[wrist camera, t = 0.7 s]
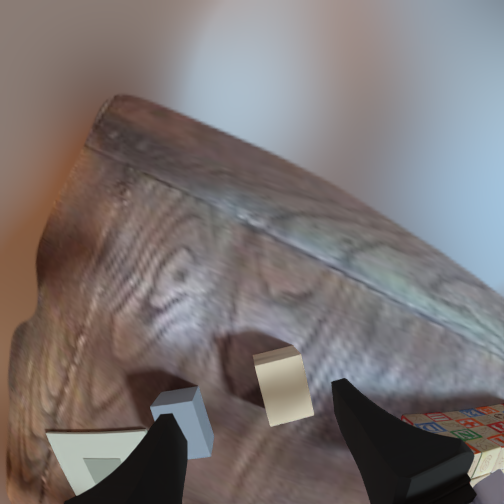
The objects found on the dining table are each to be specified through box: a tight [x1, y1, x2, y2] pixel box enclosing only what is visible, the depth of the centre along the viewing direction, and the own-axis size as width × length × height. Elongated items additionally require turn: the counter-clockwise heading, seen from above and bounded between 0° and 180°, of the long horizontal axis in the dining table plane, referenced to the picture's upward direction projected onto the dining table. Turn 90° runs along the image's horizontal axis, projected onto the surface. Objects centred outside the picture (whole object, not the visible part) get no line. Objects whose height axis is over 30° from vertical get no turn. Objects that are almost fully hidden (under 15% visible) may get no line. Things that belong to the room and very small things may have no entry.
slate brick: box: [150, 386, 214, 459], centre depth 27 cm, size 6×4×4 cm, turn 13°
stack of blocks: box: [401, 404, 504, 488], centre depth 23 cm, size 21×6×12 cm, turn 81°
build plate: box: [46, 429, 147, 496], centre depth 27 cm, size 14×14×1 cm
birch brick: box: [253, 345, 314, 427], centre depth 27 cm, size 6×4×4 cm, turn 13°
